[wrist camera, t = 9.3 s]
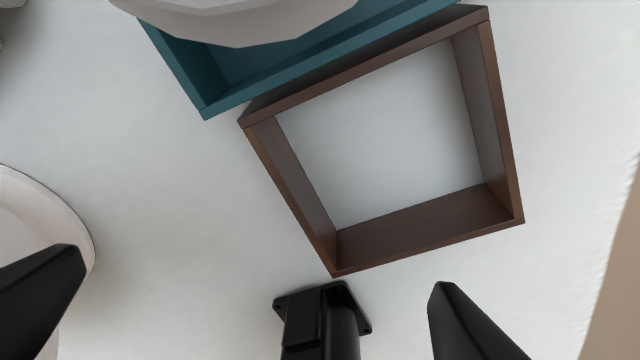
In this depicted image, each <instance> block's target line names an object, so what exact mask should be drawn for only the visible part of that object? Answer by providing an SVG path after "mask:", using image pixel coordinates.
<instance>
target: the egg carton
mask: <svg viewBox="0 0 640 360" xmlns="http://www.w3.org/2000/svg"><path fill="white" fill-rule="evenodd" d="M26 1H27V0H0V8H18V7H21V6H23V5H24V4H25V3H26ZM2 46H3V42H2V41H1V39H0V50H1V48H2Z"/></svg>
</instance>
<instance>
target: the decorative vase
mask: <svg viewBox="0 0 640 360" xmlns="http://www.w3.org/2000/svg"><path fill="white" fill-rule="evenodd" d="M57 243H66V244H75V245H77V246H78V247H79V249H80V251H81V254H82V256H83V259H84V262H85V265H86V268H87V273H86V276H85V279H86V278H87V277H88V276H89V274H90V273H91V271H92V269H93V266H94V262H95V251H94V246H93V242H92V240H91V237H90V235H89V233H88V231H87V229H86V227H85V226H84V224H83V223H82V221H81V220H80V219H79V217H78V216H77V215H76V214H75V213H74V211H73V210H72V209H71V208H70V207H69V206H68V205H67V204H66V203H65V202H64V201H62V200H61V199H60V198H59V197H58V196H57V195H55V194H54V193H53V192H52V191H50V190H49V189H47V188H46V187H45V186H43V185H42V184H40V183H38V182H37V181H35V180H33V179H32V178H30V177H28V176H26V175H24V174H22V173H20V172H18V171H16V170H14V169H11V168H9V167H6V166H4V165H1V164H0V268H2V267H4V266H6V265H8V264H11V263H13V262H15V261H18V260H20V259H22V258H24V257H27V256H29V255H31V254H34V253H36V252H38V251H40V250H43V249H45V248H47V247H50V246H52V245H54V244H57ZM85 279H84V280H85ZM84 280H83V282H84ZM83 282H82V283H83ZM58 343H59V323H58V325H57V327H56V329H55V330H54V332H53V333H52V335H51V337H50V338H49V340H48V341H47V343H46V344H45V346H44V347H43V348H42V350H41V351H40V353H39V354H38V355H37V357H36V358H35V360H56V359H57V353H58Z"/></svg>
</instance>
